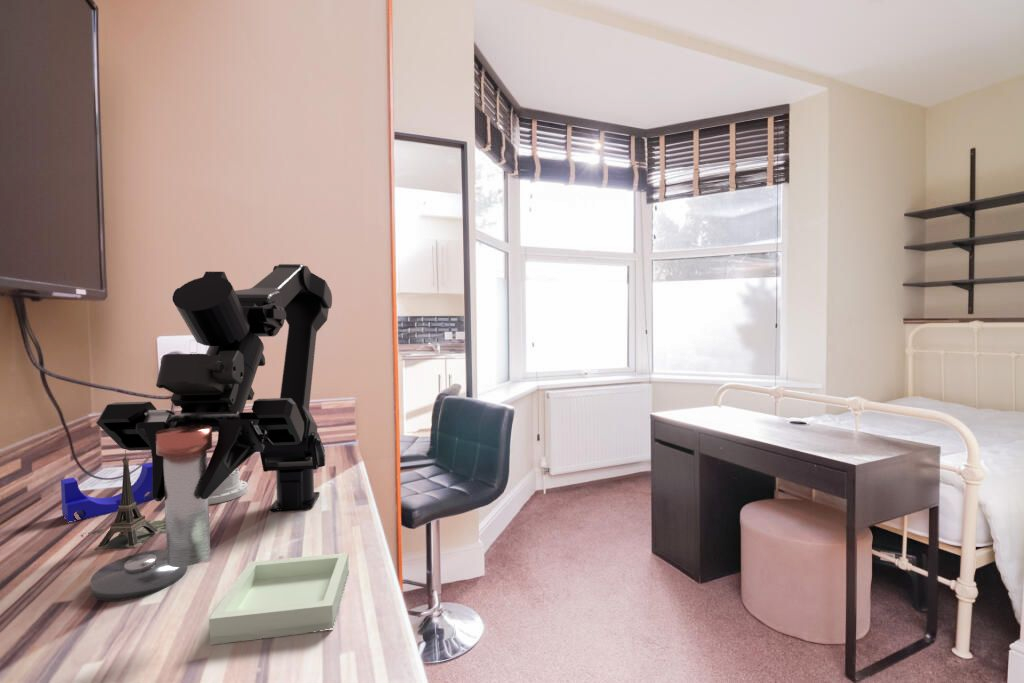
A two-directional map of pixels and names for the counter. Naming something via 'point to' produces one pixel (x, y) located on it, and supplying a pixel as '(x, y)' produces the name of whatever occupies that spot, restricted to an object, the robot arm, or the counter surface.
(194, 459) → the pin
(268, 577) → the tray
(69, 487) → the blue cradle bracket
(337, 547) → the counter surface
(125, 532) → the eiffel tower figurine
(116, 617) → the counter surface
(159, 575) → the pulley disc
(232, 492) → the mechanical component
